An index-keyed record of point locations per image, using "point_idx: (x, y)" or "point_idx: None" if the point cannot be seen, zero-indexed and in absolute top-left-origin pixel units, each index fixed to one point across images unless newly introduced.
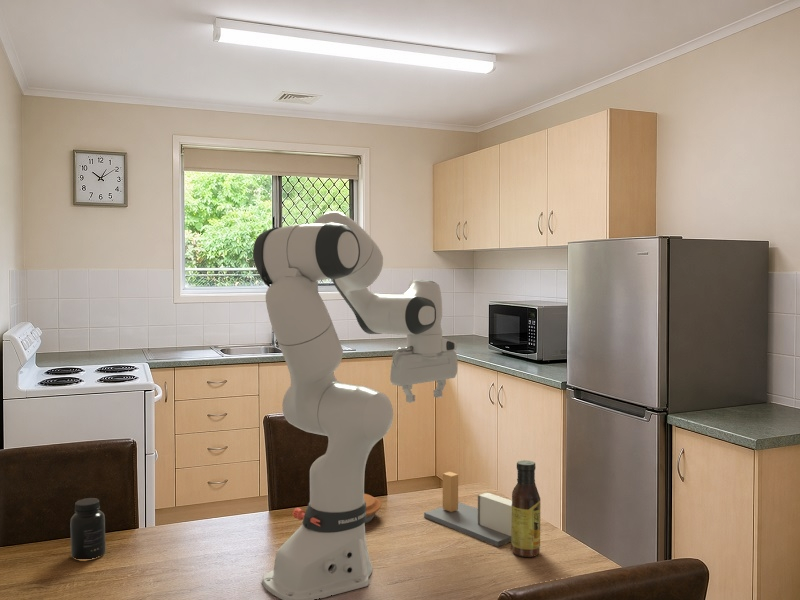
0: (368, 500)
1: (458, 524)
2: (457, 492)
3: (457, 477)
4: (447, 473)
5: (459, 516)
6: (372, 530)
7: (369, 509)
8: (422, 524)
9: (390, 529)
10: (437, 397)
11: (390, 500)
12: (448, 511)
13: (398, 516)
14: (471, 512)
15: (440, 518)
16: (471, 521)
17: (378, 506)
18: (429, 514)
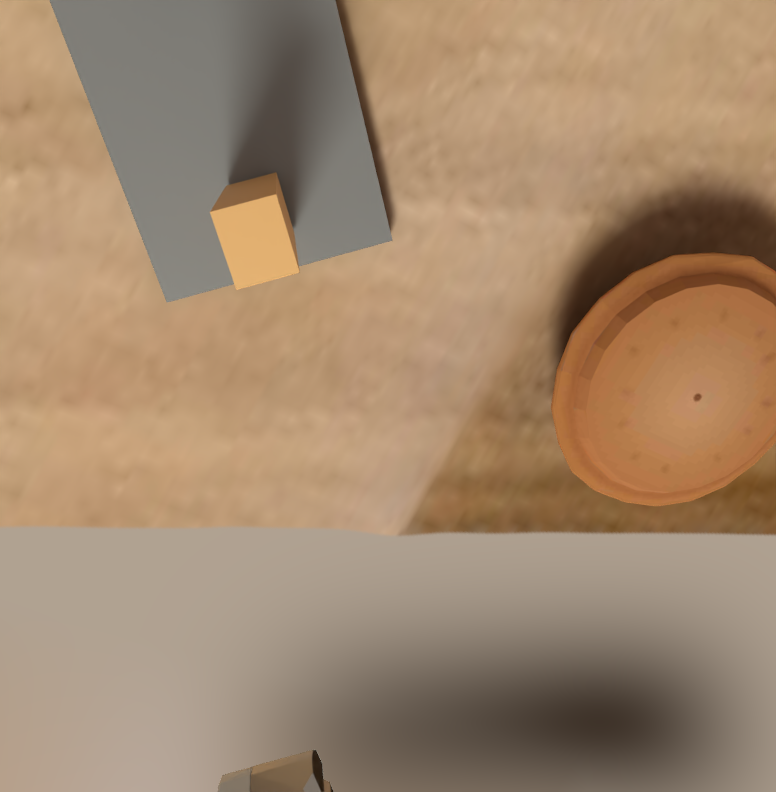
0: (633, 358)
1: (320, 4)
2: (225, 195)
3: (218, 207)
4: (269, 260)
5: (259, 107)
6: (656, 201)
7: (663, 284)
8: (439, 160)
9: (589, 175)
10: (315, 754)
11: (418, 479)
12: None
13: (482, 298)
14: (171, 128)
15: (361, 130)
16: (235, 7)
17: (606, 306)
18: (382, 206)
